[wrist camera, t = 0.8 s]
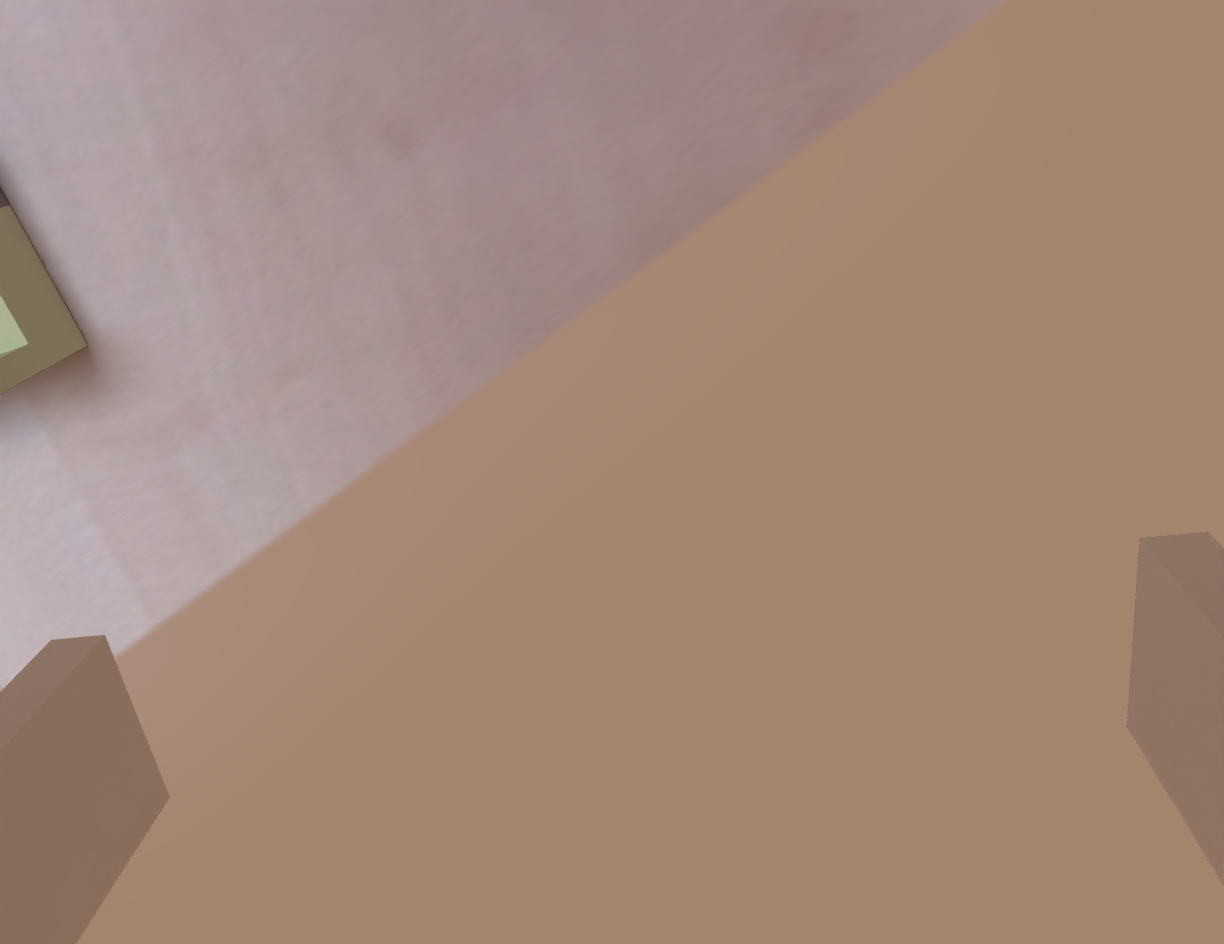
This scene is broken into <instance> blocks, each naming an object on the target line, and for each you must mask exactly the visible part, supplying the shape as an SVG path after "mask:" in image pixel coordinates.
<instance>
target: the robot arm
mask: <svg viewBox="0 0 1224 944" xmlns="http://www.w3.org/2000/svg"><path fill="white" fill-rule="evenodd" d="M1133 629H1134V630H1133V643H1132V644H1133V645H1132V658H1131V673H1130V674H1131V675H1130V688H1129V703H1128V717H1127V727H1128V729H1129V730H1130V732H1131V734H1132V735H1133V737H1134V739H1135V740H1136V742H1137V744H1138V745H1139V747H1140V748H1141V750H1142V752H1143V754H1144V755H1145V757H1146V759H1147V760H1148V762H1149V764H1150V765H1151V767H1152V769H1153V770H1154V772H1155V773H1156V775H1157V777H1158V778H1159V780H1160V782H1161V783H1162V785H1163V787H1164V788H1165V790H1166V792H1167V793H1168V795H1169V797H1170V798H1171V800H1172V801H1173V803H1174V805H1175V807H1176V808H1177V810H1178V811H1179V813H1180V815H1181V816H1182V818H1183V820H1184V821H1185V823H1186V825H1187V826H1188V828H1189V830H1190V831H1191V833H1192V835H1193V836H1194V838H1195V840H1196V841H1197V843H1198V845H1199V846H1200V848H1201V849H1202V851H1203V853H1204V855H1205V856H1206V858H1207V860H1208V861H1209V863H1210V864H1211V866H1212V868H1213V869H1214V871H1215V873H1216V874H1217V876H1218V878H1219V879H1220V881H1221V883H1222V884H1223V886H1224V548H1223V547H1222V546H1221V545H1220V544H1219V543H1218V542H1217V541H1216V540H1215V539H1214V538H1213V537H1212V536H1211V535H1210V534H1209V533H1208V532H1200V533H1190V534H1179V535H1168V536H1158V537H1147V538H1140V540H1139V554H1138V571H1137V585H1136V599H1135V614H1134V628H1133ZM169 797H170V796H169V794H168V791H167V789H166V786H165V784H164V782H163V779H162V776H161V774H160V771H159V769H158V767H157V764H156V761H155V759H154V757H153V754H152V752H151V749H150V746H149V744H148V741H147V739H146V736H145V734H144V731H143V729H142V726H141V724H140V722H139V719H138V716H137V714H136V712H135V709H134V707H133V704H132V702H131V699H130V697H129V694H128V692H127V690H126V687H125V684H124V682H123V680H122V677H121V674H120V672H119V669H118V667H117V664H116V662H115V659H114V657H113V654H112V652H111V649H110V647H109V644H108V642H107V639H106V637H105V635H99V636H89V637H78V638H67V639H57V640H51V641H50V642H49V643H48V644H47V645H46V646H45V647H44V648H43V649H42V650H41V651H40V652H39V653H38V654H37V655H36V656H35V657H34V658H33V659H32V660H31V661H30V662H29V663H28V664H27V665H26V666H25V667H24V669H23V670H22V671H21V672H20V673H19V674H18V675H17V676H16V677H15V678H14V679H13V680H12V681H11V682H10V683H9V684H8V685H7V686H6V687H5V688H4V689H3V690H2V691H1V692H0V944H76V943H77V942H78V940H79V939H80V937H81V935H82V934H83V932H84V931H85V929H86V928H87V926H88V924H89V923H90V921H91V920H92V918H93V917H94V915H95V913H96V912H97V910H98V909H99V907H100V906H101V904H102V902H103V901H104V899H105V898H106V896H107V895H108V893H109V892H110V890H111V888H112V886H113V885H114V884H115V882H116V881H117V879H118V877H119V876H120V874H121V873H122V871H123V870H124V868H125V866H126V865H127V863H128V862H129V860H130V858H131V857H132V855H133V854H134V852H135V851H136V849H137V848H138V846H139V845H140V843H141V841H142V840H143V838H144V837H145V835H146V834H147V832H148V830H149V829H150V827H151V826H152V824H153V823H154V821H155V819H156V818H157V816H158V815H159V813H160V812H161V810H162V808H163V807H164V805H165V804H166V802H167V801H168V799H169Z"/></svg>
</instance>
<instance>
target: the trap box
mask: <svg viewBox="0 0 1224 944" xmlns="http://www.w3.org/2000/svg"><path fill="white" fill-rule="evenodd" d="M87 345H88V344H87V343H86V341H85V339H84V337H83V336H82V334H81V332H80V330H79V328H78V327H77V325H76V323H75V321H74V319H73V318H72V316H71V314H70V312H69V310H68V309H67V307H66V305H65V303H64V301H63V300H62V298H61V296H60V294H59V293H58V291H57V289H56V287H55V285H54V284H53V282H52V280H51V278H50V276H49V275H48V273H47V271H46V269H45V267H44V266H43V264H42V262H41V260H40V258H39V257H38V255H37V253H36V251H35V249H34V248H33V246H32V244H31V242H30V241H29V239H28V237H27V235H26V233H25V232H24V230H23V228H22V226H21V224H20V223H19V221H18V219H17V217H16V215H15V214H14V212H13V210H12V208H11V206H10V205H9V203H8V201H7V199H6V198H5V196H4V194H3V192H2V190H1V189H0V394H1V393H3V392H4V391H6V390H8V389H10V388H12V387H14V386H15V385H17V384H19V383H21V382H23V381H24V380H26V379H28V378H30V377H32V376H33V375H35V374H37V373H39V372H41V371H42V370H44V369H46V368H48V367H50V366H51V365H53V364H55V363H57V362H59V361H60V360H62V359H64V358H66V357H68V356H69V355H71V354H73V353H75V352H77V351H78V350H80V349H82V348H84V347H86V346H87Z"/></svg>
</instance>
